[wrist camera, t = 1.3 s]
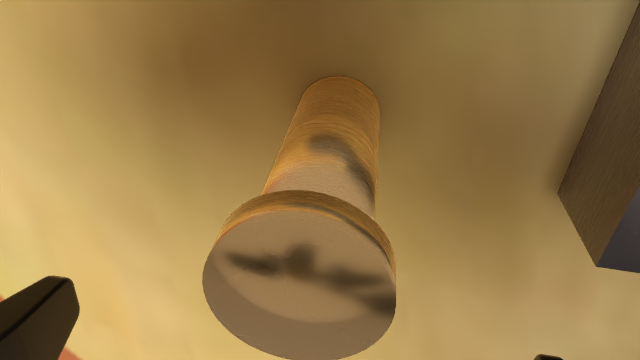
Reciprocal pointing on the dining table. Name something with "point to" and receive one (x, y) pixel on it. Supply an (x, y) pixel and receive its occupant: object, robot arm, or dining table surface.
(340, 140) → the pin
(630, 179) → the chain ends
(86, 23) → the dining table surface
